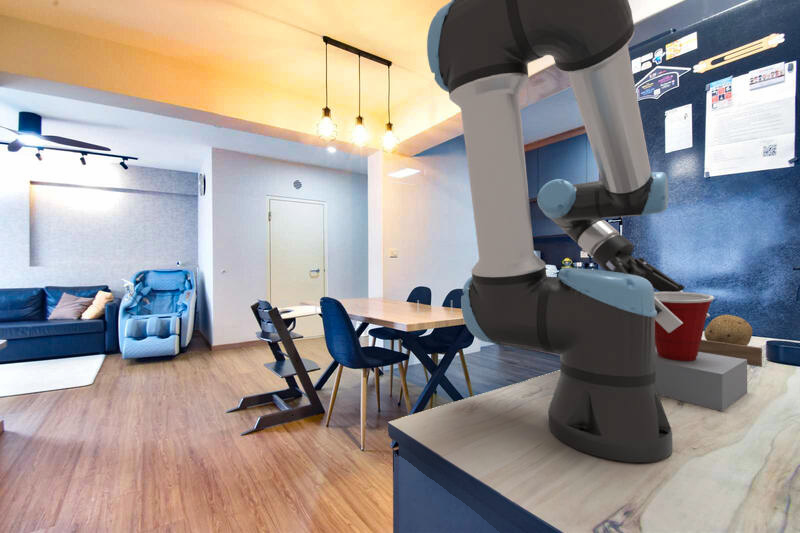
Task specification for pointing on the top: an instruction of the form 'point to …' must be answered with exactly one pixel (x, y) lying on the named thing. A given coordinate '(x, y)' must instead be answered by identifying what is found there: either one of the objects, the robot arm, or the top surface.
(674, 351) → the plastic cup
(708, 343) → the brown wooden frame
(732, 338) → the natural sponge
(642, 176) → the robot arm
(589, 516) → the top surface
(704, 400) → the grey square block
